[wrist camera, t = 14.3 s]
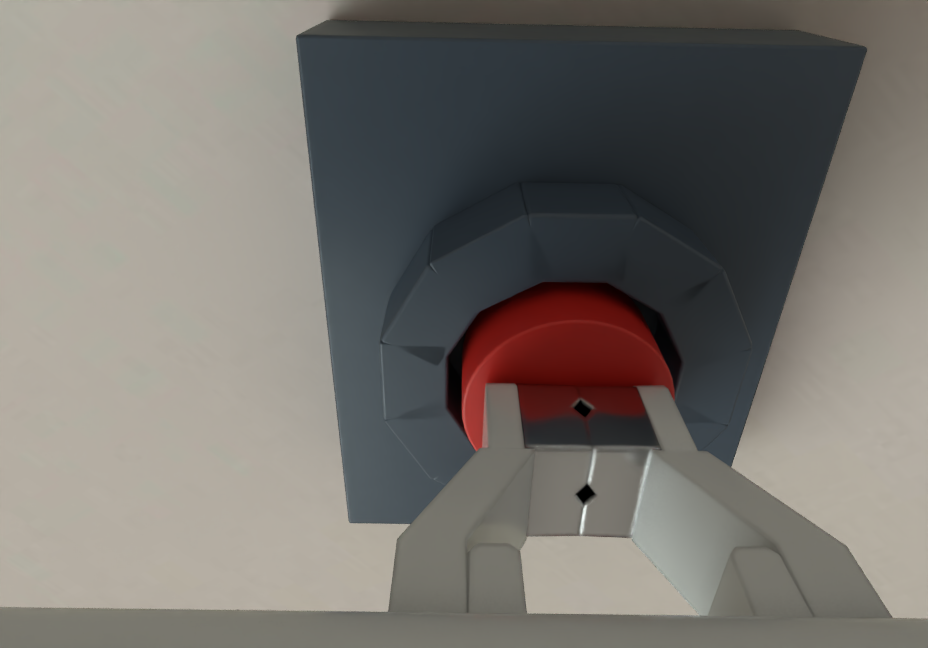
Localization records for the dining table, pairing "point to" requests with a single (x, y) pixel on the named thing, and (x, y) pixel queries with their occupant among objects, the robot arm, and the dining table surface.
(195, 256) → the dining table surface
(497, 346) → the button
